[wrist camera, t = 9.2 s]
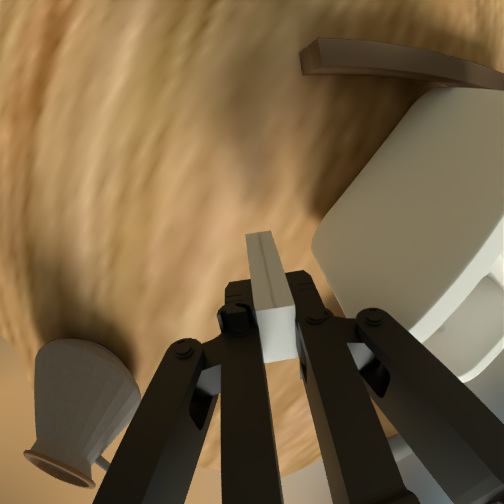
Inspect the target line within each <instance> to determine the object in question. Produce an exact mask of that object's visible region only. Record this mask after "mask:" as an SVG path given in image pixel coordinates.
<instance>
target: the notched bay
mask: <svg viewBox="0 0 504 504" xmlns="http://www.w3.org/2000/svg"><path fill="white" fill-rule="evenodd" d="M299 55H300V61H301V68H302V75H366V76H382V77H394V78H403V79H412V80H420V81H426V82H433V83H439V84H445V85H450V86H455V87H460V88H478V89H490V90H500V91H504V73H501V72H499V71H496V70H493V69H491V68H488V67H485V66H482V65H479V64H476V63H473V62H470V61H467V60H463V59H460V58H456V57H453V56H449V55H445V54H441V53H437V52H433V51H428V50H424V49H419V48H414V47H408V46H402V45H396V44H389V43H382V42H373V41H364V40H352V39H334V38H317V39H316V40H315V41H313V42H312V43H311V44H310V45H308V46H307V47H306V48H305V49H304V50H302V51H301V52H300V53H299Z"/></svg>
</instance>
